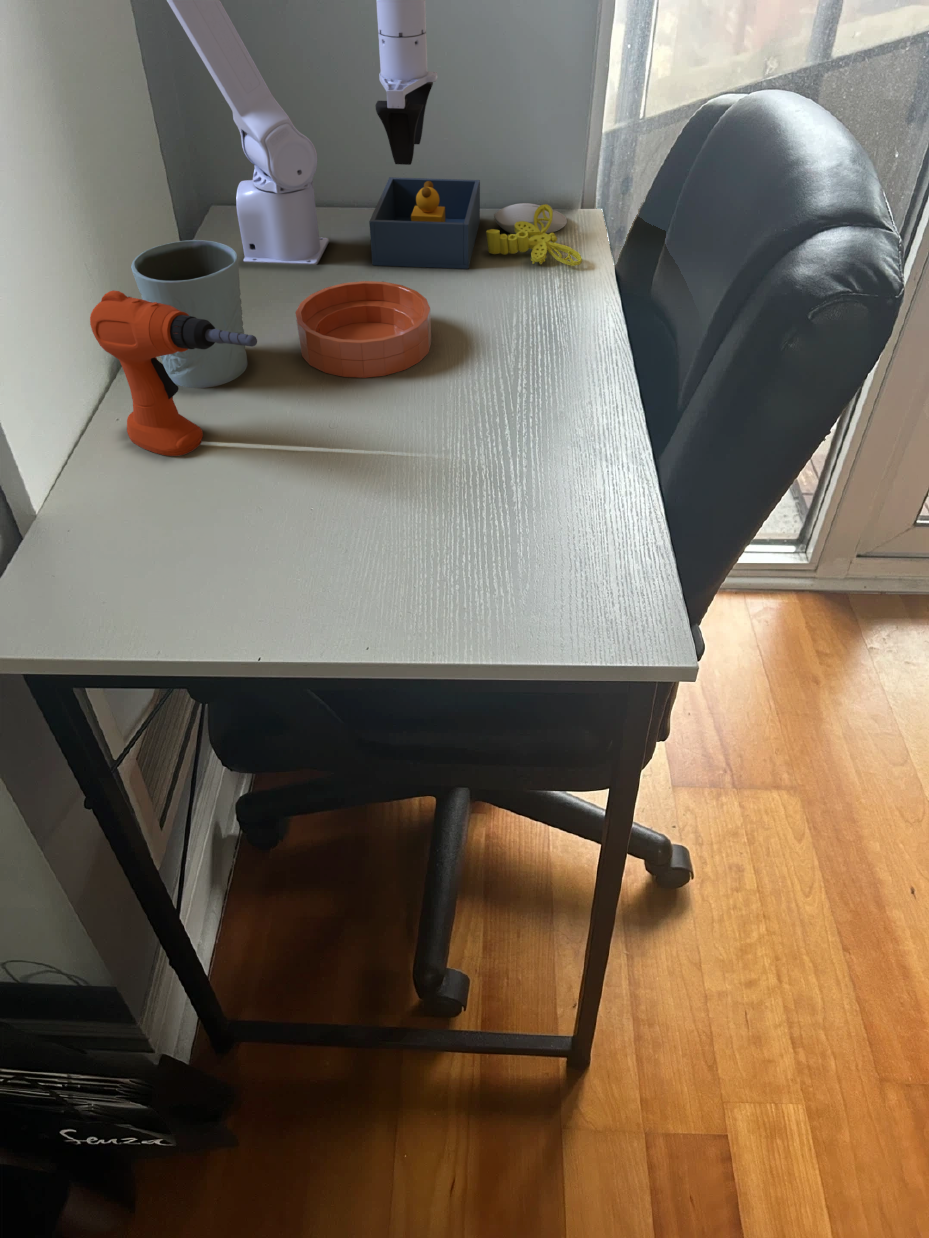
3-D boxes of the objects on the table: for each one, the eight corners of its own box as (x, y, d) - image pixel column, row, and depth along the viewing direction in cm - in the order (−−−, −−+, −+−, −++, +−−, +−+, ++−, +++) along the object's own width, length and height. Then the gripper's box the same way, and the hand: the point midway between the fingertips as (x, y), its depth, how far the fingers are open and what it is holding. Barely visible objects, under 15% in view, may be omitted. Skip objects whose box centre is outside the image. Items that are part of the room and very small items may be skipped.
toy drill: (274, 481, 83) (226, 319, 74) (121, 449, 91) (60, 299, 82) (306, 454, 86) (264, 294, 77) (155, 425, 94) (100, 277, 85)
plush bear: (412, 243, 122) (409, 188, 118) (415, 233, 125) (413, 179, 120) (442, 244, 122) (441, 189, 117) (445, 234, 125) (444, 180, 120)
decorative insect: (508, 290, 117) (583, 267, 118) (506, 268, 114) (583, 245, 115) (476, 231, 124) (548, 210, 125) (474, 209, 121) (547, 188, 122)
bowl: (287, 378, 99) (281, 339, 96) (317, 316, 109) (312, 278, 106) (421, 385, 98) (419, 345, 95) (438, 321, 108) (437, 283, 105)
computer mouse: (571, 232, 126) (572, 209, 124) (499, 240, 124) (500, 217, 122) (557, 216, 130) (559, 193, 128) (488, 223, 128) (488, 200, 126)
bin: (372, 265, 119) (369, 221, 115) (391, 218, 130) (389, 177, 126) (468, 269, 118) (468, 224, 114) (479, 221, 129) (479, 180, 125)
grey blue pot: (147, 392, 97) (116, 280, 89) (175, 345, 104) (149, 237, 96) (244, 395, 97) (222, 282, 88) (265, 347, 104) (247, 239, 95)
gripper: (427, 48, 106) (431, 174, 116) (443, 18, 117) (445, 136, 126) (365, 47, 107) (374, 172, 116) (386, 17, 117) (393, 134, 127)
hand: (407, 153), depth 121 cm, fingers open, 7 cm apart
